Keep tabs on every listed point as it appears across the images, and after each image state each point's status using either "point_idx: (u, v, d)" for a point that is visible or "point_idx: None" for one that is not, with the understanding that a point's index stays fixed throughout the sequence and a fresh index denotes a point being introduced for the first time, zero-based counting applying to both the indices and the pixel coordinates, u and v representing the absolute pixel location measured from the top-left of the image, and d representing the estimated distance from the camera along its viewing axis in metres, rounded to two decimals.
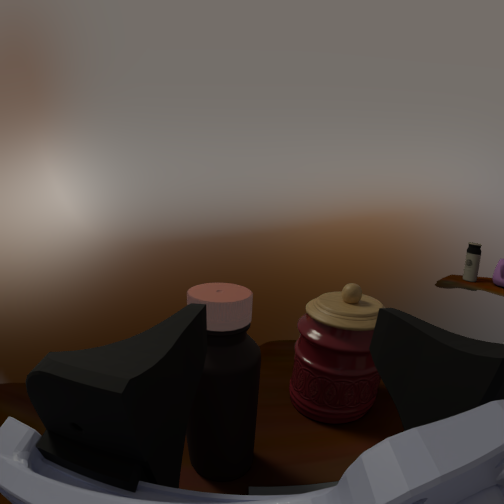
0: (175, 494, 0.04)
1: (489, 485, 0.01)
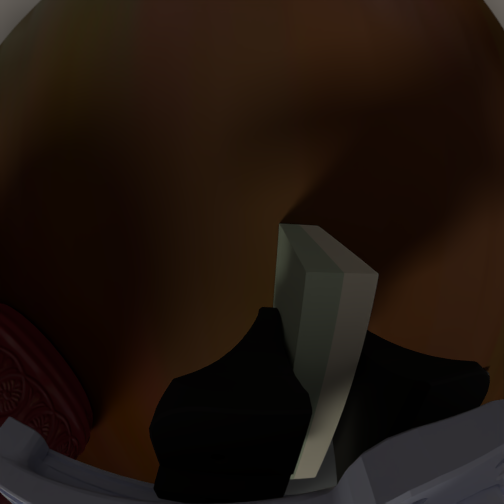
0: (175, 494, 0.04)
1: (489, 485, 0.01)
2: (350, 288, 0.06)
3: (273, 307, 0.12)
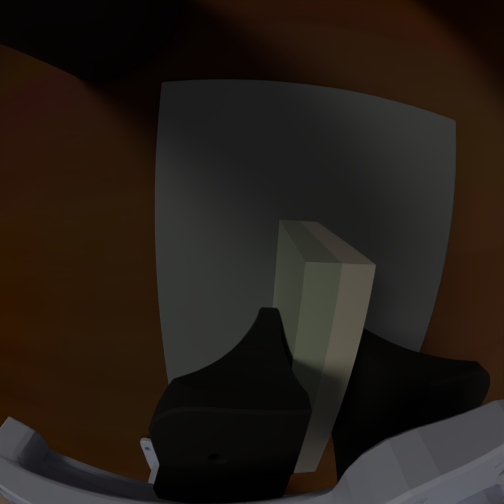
0: (175, 494, 0.04)
1: (489, 485, 0.01)
2: (348, 278, 0.06)
3: (273, 302, 0.12)
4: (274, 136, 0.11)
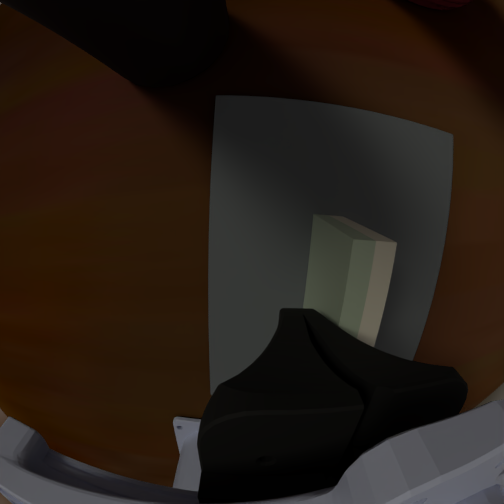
0: (175, 494, 0.04)
1: (489, 485, 0.01)
2: (379, 251, 0.08)
3: (306, 282, 0.15)
4: (310, 146, 0.13)
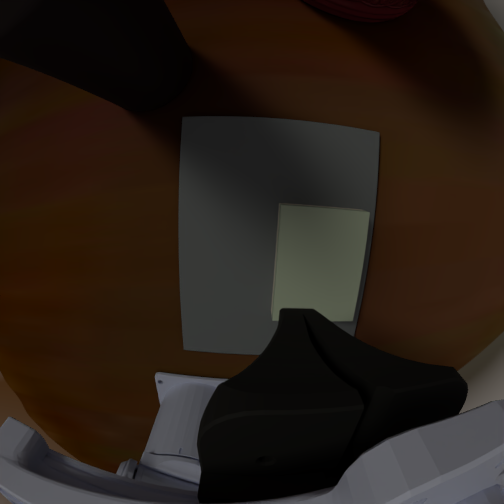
0: (175, 494, 0.04)
1: (489, 485, 0.01)
2: None
3: (279, 260, 0.18)
4: (250, 151, 0.18)
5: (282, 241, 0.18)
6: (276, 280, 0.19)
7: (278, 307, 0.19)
